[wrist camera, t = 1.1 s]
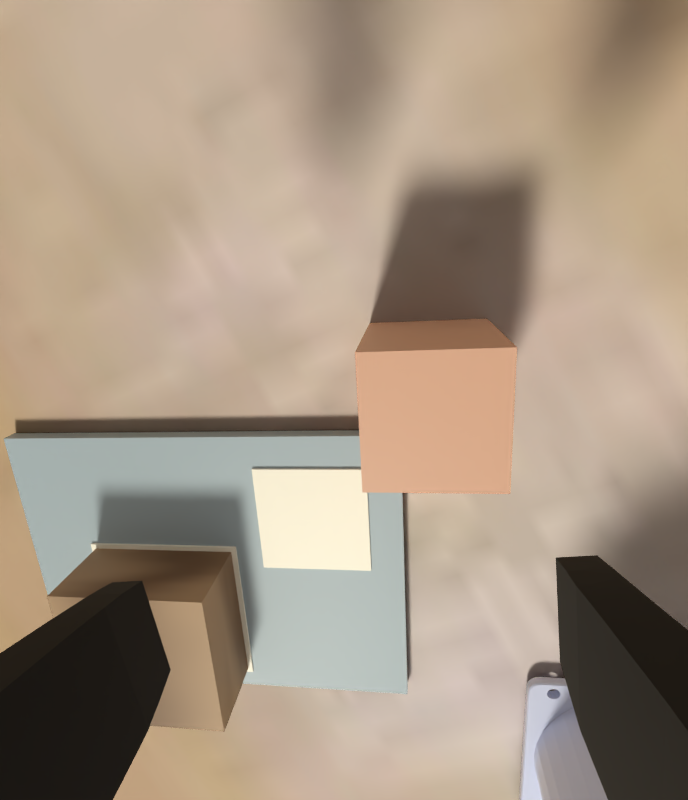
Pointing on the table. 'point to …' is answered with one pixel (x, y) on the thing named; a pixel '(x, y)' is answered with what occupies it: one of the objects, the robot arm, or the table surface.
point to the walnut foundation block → (178, 625)
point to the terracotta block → (436, 407)
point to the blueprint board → (240, 536)
